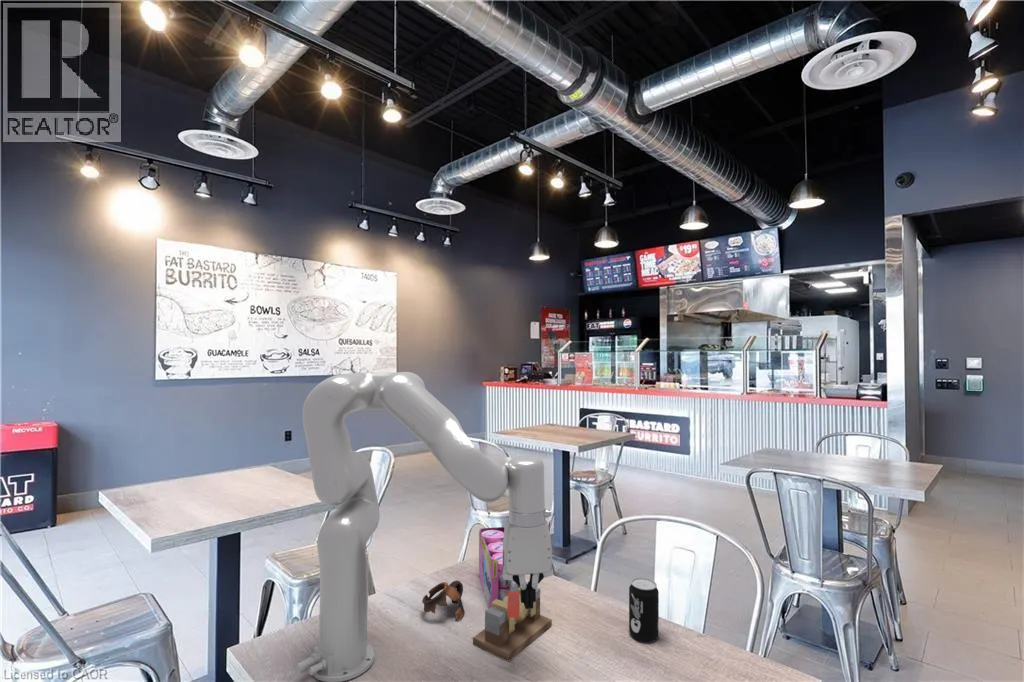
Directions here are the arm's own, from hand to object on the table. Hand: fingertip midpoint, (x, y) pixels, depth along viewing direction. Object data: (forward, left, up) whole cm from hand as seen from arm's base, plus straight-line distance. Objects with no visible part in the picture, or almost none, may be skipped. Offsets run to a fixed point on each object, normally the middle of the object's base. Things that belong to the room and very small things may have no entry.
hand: (528, 605), depth 101 cm
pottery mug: (+4, +28, -12) cm, 31 cm away
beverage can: (+25, -15, -12) cm, 32 cm away
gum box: (+21, +24, -12) cm, 34 cm away
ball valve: (+7, +9, -9) cm, 14 cm away
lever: (+2, +5, -1) cm, 5 cm away
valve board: (+7, +9, -12) cm, 16 cm away
